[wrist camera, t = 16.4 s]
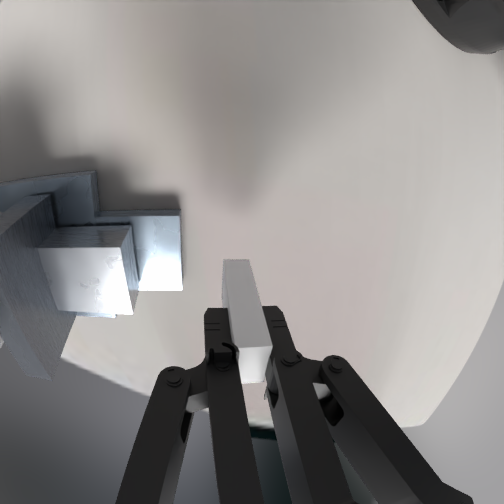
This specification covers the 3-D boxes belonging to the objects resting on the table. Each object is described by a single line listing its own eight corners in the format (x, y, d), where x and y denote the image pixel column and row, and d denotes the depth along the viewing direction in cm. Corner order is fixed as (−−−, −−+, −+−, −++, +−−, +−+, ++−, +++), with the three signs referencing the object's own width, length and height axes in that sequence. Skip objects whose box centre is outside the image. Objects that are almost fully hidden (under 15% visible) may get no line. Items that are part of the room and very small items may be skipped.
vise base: (-48, 194, 12) (-106, 240, 4) (180, 166, 17) (162, 223, 9) (-16, 297, 18) (-51, 356, 10) (184, 309, 23) (185, 403, 15)
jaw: (21, 197, 14) (-42, 248, 7) (128, 188, 15) (85, 246, 9) (52, 307, 19) (22, 374, 12) (144, 312, 20) (132, 391, 14)
